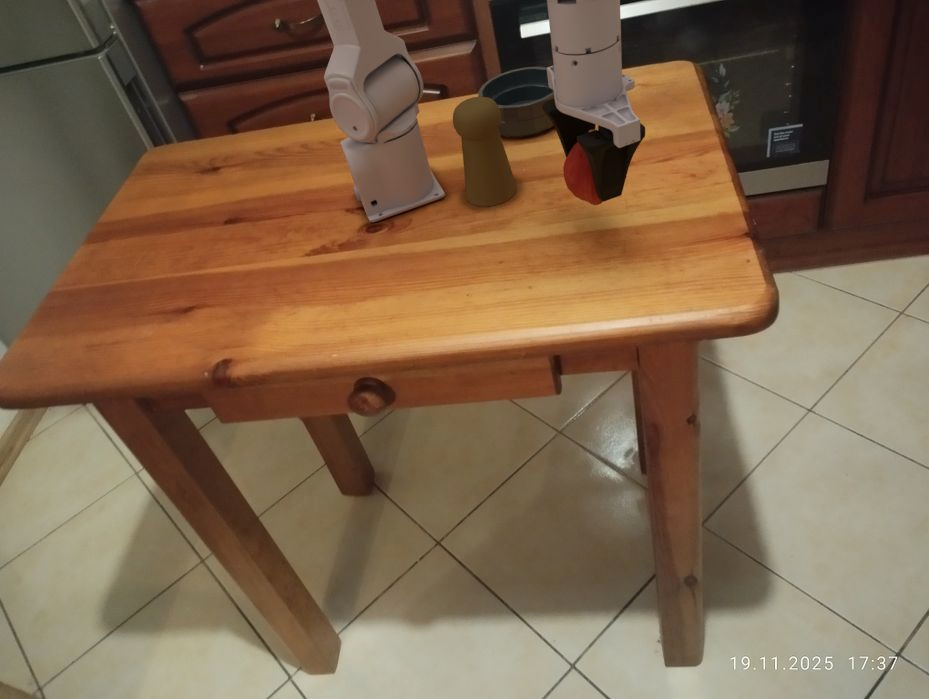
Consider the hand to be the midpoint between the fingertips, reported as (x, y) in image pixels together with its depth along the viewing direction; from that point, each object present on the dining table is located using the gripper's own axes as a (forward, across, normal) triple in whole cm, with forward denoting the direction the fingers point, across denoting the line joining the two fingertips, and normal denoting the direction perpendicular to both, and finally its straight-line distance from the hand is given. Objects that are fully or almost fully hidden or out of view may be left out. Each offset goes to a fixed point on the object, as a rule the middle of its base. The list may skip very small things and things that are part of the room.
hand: (595, 181), depth 66 cm
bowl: (+6, +28, -3) cm, 29 cm away
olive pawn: (+6, +14, +7) cm, 17 cm away
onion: (+3, 0, 0) cm, 3 cm away
